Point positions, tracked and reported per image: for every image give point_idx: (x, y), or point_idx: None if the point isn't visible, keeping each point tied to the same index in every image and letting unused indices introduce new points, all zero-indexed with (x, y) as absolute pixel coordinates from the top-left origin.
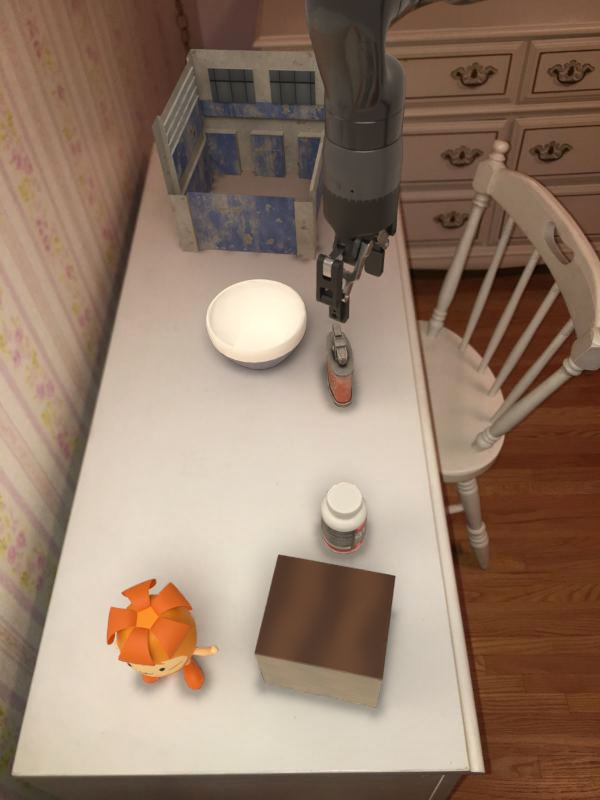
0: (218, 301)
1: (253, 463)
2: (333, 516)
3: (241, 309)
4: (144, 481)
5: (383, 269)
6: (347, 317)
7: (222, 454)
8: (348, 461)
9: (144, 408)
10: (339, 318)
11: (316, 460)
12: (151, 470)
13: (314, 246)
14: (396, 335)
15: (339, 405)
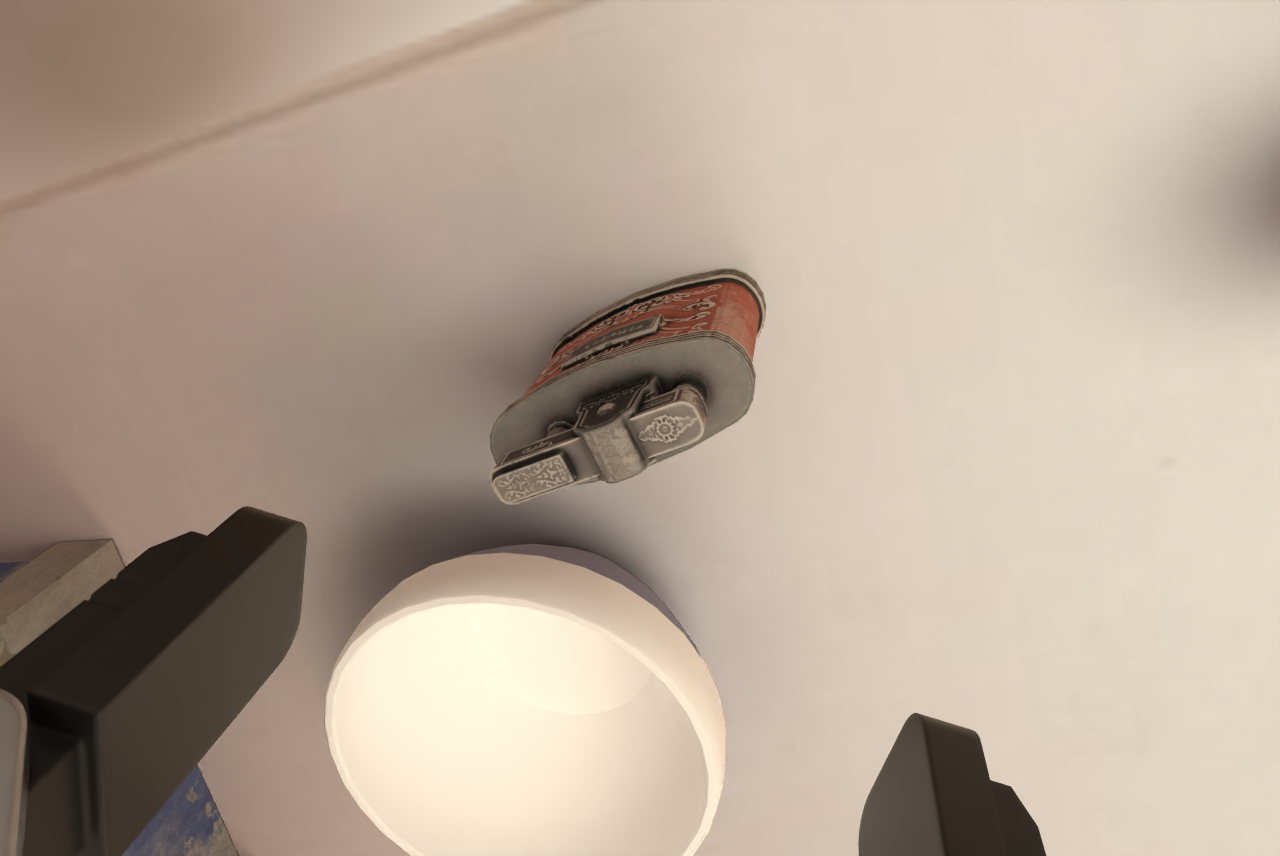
0: None
1: (1079, 556)
2: None
3: (461, 753)
4: (1182, 837)
5: (221, 524)
6: (963, 760)
7: (1050, 655)
8: (1033, 218)
9: None
10: (1039, 852)
11: (1042, 345)
12: (1137, 828)
13: (62, 571)
14: (329, 156)
15: (764, 316)
